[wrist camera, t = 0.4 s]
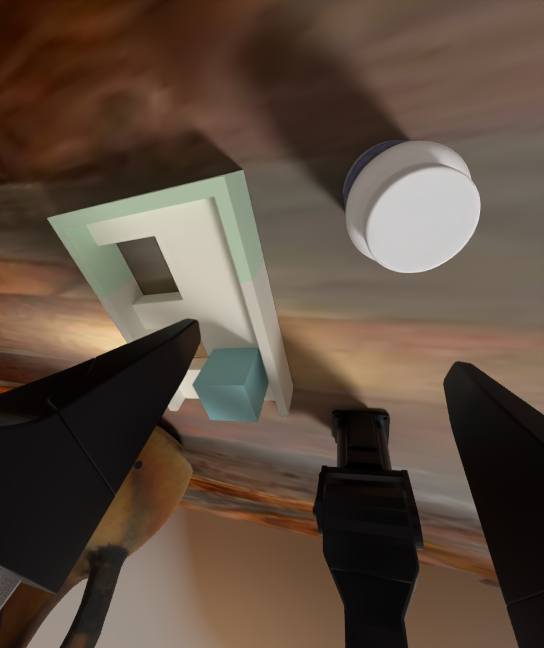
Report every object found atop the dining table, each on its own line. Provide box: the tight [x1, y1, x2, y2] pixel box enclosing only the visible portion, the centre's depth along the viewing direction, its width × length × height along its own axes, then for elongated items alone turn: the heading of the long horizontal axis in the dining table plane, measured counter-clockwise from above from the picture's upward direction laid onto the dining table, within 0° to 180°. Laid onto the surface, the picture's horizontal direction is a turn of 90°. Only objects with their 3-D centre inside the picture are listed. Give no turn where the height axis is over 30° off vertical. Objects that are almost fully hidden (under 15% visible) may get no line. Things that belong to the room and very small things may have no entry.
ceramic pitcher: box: [0, 426, 193, 648], centre depth 34 cm, size 20×20×30 cm
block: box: [192, 348, 269, 422], centre depth 26 cm, size 5×5×5 cm
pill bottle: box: [343, 140, 480, 273], centre depth 14 cm, size 5×5×10 cm
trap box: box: [47, 170, 293, 416], centre depth 25 cm, size 23×15×4 cm, turn 12°
